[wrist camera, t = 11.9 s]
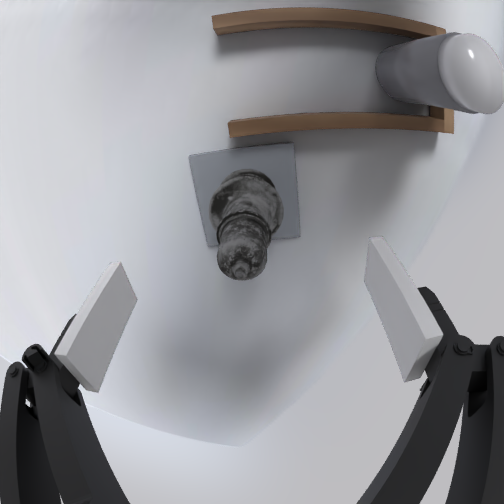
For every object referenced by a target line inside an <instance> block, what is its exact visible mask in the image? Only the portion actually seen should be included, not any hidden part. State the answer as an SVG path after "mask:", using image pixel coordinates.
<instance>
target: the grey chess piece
mask: <svg viewBox="0 0 504 504" xmlns="http://www.w3.org/2000/svg"><path fill="white" fill-rule="evenodd" d="M208 212H209V219H210V222H211V224H212V227H213V228H214V229H215V231H216V232H217V233H216V236H217V241H218V244H219V249H218V254H217V261H218V265H219V268H220V270H221V271H222V272H223V273H224V274H225V275H227V276H228V277H230V278H232V279H235V280H249V279H252V278H254V277H256V276H258V275H259V274H260V273H261V272H262V271H263V270H264V268H265V265H266V262H267V248H268V246H269V245H270V242H271V237H272V236H273V235H274V234H275V233H276V232H277V230H278V229H279V227H280V226H281V223H282V220H283V214H284V207H283V203H282V200H281V197H280V196H279V194H278V192H277V191H276V189H275V186H274V184H273V182H272V181H271V179H270V178H269V177H267V176H266V175H265V174H264V173H262V172H260V171H258V170H253V169H241V170H237V171H234V172H233V173H231V174H229V175H228V176H227V177H226V178H225V179H224V180H223V181H222V183H221V185H220V186H219V187H218V188H217V189H216V191H215V192H214V193H213V195H212V197H211V199H210V203H209V208H208Z"/></svg>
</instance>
